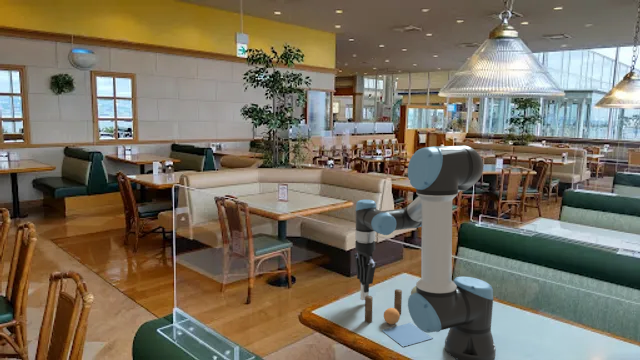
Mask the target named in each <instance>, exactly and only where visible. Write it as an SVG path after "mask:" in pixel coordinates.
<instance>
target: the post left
mask: <svg viewBox="0 0 640 360" xmlns="http://www.w3.org/2000/svg"><path fill="white" fill-rule="evenodd" d="M373 297H374V296H373V295H369V296H366V297H365V300H364V322H365V323H367V324H370V323H372V322H373Z"/></svg>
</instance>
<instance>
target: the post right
mask: <svg viewBox="0 0 640 360" xmlns="http://www.w3.org/2000/svg"><path fill="white" fill-rule="evenodd" d="M402 294H403V290H402V289H394V306H393V308H395V309H396V310H397V311H398V312H399V314H400V316H402V302H403V301H402V299H403V298H402V297H403V296H402Z"/></svg>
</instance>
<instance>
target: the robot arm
mask: <svg viewBox="0 0 640 360" xmlns="http://www.w3.org/2000/svg"><path fill="white" fill-rule="evenodd" d="M484 166H485V165H484V160H483V158H482V156H481V154H480V153H479V152H478V151H477V150H475V149H474V148H473V147H471V146H468V145H463V144H461V145H446V146H445V145H444V146H442V145H441V146H434V145H433V146H429V147H428V146H426V147H422V148H419V149H418V150H416V151H415V152H414V154H413V155H412V156H411V157H410V159H409V162H408V165H407V177H408V180H409V184H410V185H411V186H412V187H413V188H414V189H415V190H416V195H417V197H415V199H414V200H413V201H412V202H410V203H409V204H408V205H407V206H405V207H403V208H397V209H389V210H388V209H387V210H386V209H385V210H379V209H377V203H376V201H375V200H372V199H360V200H358V201H356V203H355V211H354V212H355V234H354V235H355V238H354V239H355V243H354V245H355V246H354V247H355V251H356V253H354V254H353V257H354V261H355V268H356V269H355V270H356V278H357V279H358V280H359V283H360V284H359V285H360V300H362V301H365V297H366V296H370V295H369V292H370V285H372V284H373V282H374V276H375V272H376V271H375V270H376V267H377V264H378V263H377V261H374V256H373V254H374V252H375V250H376V241H375V240H376V233H377V234H379V235H383V236H389V235H391V234H393V233H394V232H395V231H400V230H401V231H402V230H409V229H418V228H421V270H420V271H421V274H420V275H421V278H420V279H419V280H417V282H416V284H415V286H416V293H413V294H412V295H411V294H410V296H409V297H408V298H407V299H408V300H407V308H408V312H409V315H410V317H411V319H412V321H413V323H414V324H415V325H414V326H416V327H417V328H419V329H420V330H422V331H423V332H424V333H426V334H427V333H429V334H430V333H435V332H436V333H438V332H441V331H445V330H448V333H447V335H446V337H445V339H444V349H445V352H446V353H447V354H448V355H450V357H452V358H453V359H455V360H494V359H495V358H496V344H495V342H494V337H493V334H492V319H493V307H494V306H493V305H494V289H493V287H492V285H491V284H490V283H488V282H487V281H485V280H482V279H479V278H476V277H472V276H463V275H462V276H456V277H454V279H453V280H452V278H453V277H452V276H453V275H452V268H453V267H452V265H453V264H452V262H453V261H452V260H453V258H452V257H453V256H452V254H453V251H452V250H453V242H452V241H453V239H452V238H453V200H454V199H455V198H456V197H457V196H458V195H459V193H460V192H464V191H468V190H469V189H470V188H472V187H473V186H474V185H475V184H477V182H478V181H479V180H480V179H481V177H482V175H483V172H484Z"/></svg>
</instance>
